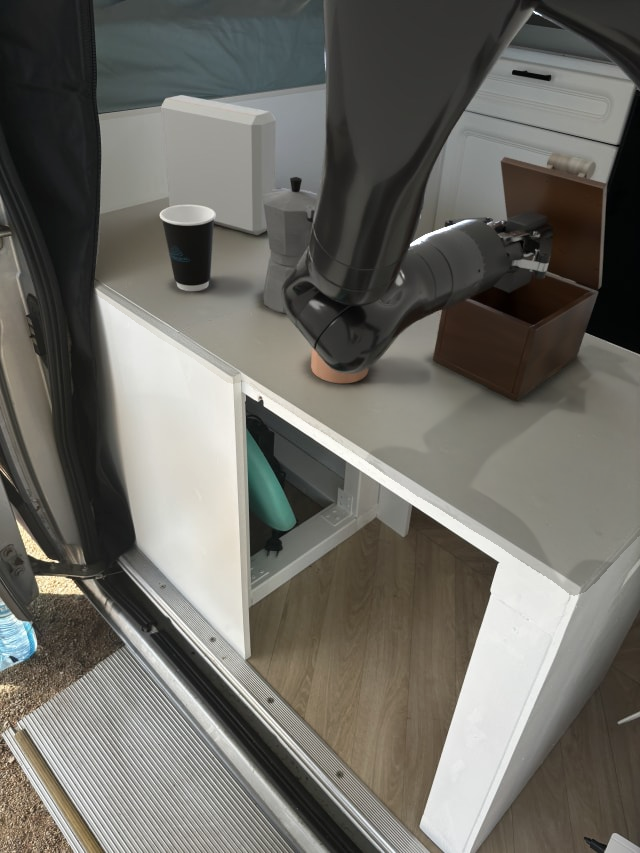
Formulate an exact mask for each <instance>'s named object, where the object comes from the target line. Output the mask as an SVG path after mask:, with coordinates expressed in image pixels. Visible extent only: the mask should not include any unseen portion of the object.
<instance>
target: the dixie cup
mask: <svg viewBox="0 0 640 853" xmlns="http://www.w3.org/2000/svg"><path fill="white" fill-rule="evenodd" d="M215 217H216V214H215V212H214V211H213V210H212V209H210V208H208V207H204V206H199V205H177V206H172V207H170V206H169V207H166V208H164V209H162V210H161V211H160V212H159V218H160V220H162V225H163V230H164V235H165V240H166V245H167V249H168V255H169V259H170V263H171V269H172V274H173V278H174V281H175V282H176V286H177V288H178V289H180V290H181V291H186V292H199V291H204V290H205V289H207V288H208V287H209V285H210V284H209V282H210V280H211V275H212V274H211V273H212V256H213V240H214V225H215V224H214V218H215Z"/></svg>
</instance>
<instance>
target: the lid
mask: <svg viewBox="0 0 640 853" xmlns="http://www.w3.org/2000/svg"><path fill="white" fill-rule="evenodd" d="M596 167H597V163H596V161H592V160H588V159H583V158H580V157H576V156H572V155H568V154H564V153H560V152H556V151H554V152H552V153H551V154H550V155H549V157H548V158H547V161H546V166H543V165H542V166H541V165H537V164H533V163H530V162H526V161H523V160H518V159H515V158H511V157H508V156H504V157H503V158H502V159H500V169H501V177H502V186H503V195H504V196H503V197H504V206H505V214H506V221H507V220H508V219H510V218H512V217H515V216H518V215H520V214H523V213H525V212H528V211H531V212H534V213H538V214H541V215H544V216H547V221H546V224H549V225H552V226H553V229H552V230H554V233H553V236H552V250H551V257H550V261H549V264H548V268H547V271H546V273H549V274H552V275H554V276H557V277H560V278H563V279H565V280H568V281H571V282H574V283H577V284H579V285H582V286H585V287H588V288H590V289H593V290H596V291H598V290H599V289H600V288H601V287H602V283H603V282H602V281H603V266H604V265H603V264H604V249H605V248H604V247H605V246H604V245H605V243H604V242H605V230H606V229H605V228H606V227H605V226H606V211H607V210H606V207H607V191H608V183H607V182H602V181H599V180H596V179H592V177H593V176H594V174H595V171H596Z"/></svg>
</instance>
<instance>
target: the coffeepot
mask: <svg viewBox="0 0 640 853" xmlns="http://www.w3.org/2000/svg"><path fill="white" fill-rule="evenodd" d="M289 181H290V188H286V187H277V188H275V189H270V190H271V193H268V194H265V195H263V204H264V211H265V219H266V226H267V231H266V233H267V240H268V247H269V250H270V256H269V258H268V264H267V270H266V275H265V280H264V281H265V282H264V287H263V293H262V295H263V296H262V297H263V305H264V306H265V307H267V308H269V309H270V310H272V311H274V312H276V313H280V314H286V312H285V310H284V308H283V305H282V300H281V289H282V285H283V283H284V281H285V280H286V278H287V277H288V275H289V274H290V273H291V272H292V270H293V269H294V268H295V266H296V265H297V263H298V262H299V260H300V259H301V257H302V255H303V254H304V252H305V251H306V249H307V247H308V245H309V240H310V234H311V228H312V223H313V216H314V211H315V206H316V200H317V195H318V193H316V192H313V191H310V190H306V189H301V187H302V181H303V179H302V178H301V177H299V176H293V177H289ZM286 315H287V314H286Z"/></svg>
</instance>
